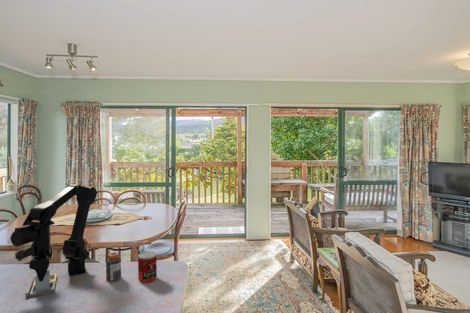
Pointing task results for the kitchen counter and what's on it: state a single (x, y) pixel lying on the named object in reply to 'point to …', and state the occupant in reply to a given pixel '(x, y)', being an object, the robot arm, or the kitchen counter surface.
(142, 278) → the canned food
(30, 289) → the cubby shelf with drawer
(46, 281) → the blue-grey box
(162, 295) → the kitchen counter surface
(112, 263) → the pill bottle
